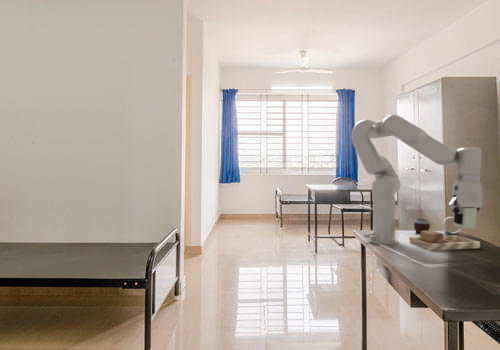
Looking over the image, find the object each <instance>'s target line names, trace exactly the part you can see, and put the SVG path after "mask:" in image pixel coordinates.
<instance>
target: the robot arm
mask: <svg viewBox="0 0 500 350" xmlns="http://www.w3.org/2000/svg"><path fill="white" fill-rule="evenodd" d="M350 136H351V142H352V145H353V147H354V149H355V152H356V153H357V156H358V158H359V160H360V162H361V163H362V166H363V168H364V171H365V172H366V173H368V175H370V176H371V175H372V176H374V177H375V179H374V180H373V182H372V185H371V191H372V203H373V204H372V231H370V232H369V233H363V234H362V237H363V238H364V239H367V238H368V240H369V242H371V243H373V244H376V245H377V244H378V245H383V246H384V244H387V245H388V244H390V245H391V244H398V243H399V240H398V239H397V238H395V237H396V236H395V235H396V232H395V231H396V199H395V194H396V193H398V192H399V190H401V181H400V178H399V177H398V175H397V173H396V171H395V169H394V167H393V166H392V163H391V162H390V161H389V159H388V158H387V157H385V156H382V155H380V154H379V152H378V151H377V148H376V146H375V144H374V143H373V142H372V140H371V139H379V138H384V137H392V136H393V137H394V138H396V139H398V140H399V141H401V142H403V143H404V144H405V145H407V146H409V147H410V148H411V149H413V150H415V151H417V152H418V153H419V154H421V155H422V156H424V157H426V158H427V159H429V160H431V161H432V162H434V163H435V164H438V165H440V166H454V165H456V171H455V173H456V174H455V175H454V179H455V181H454V183H453V186H452V192H451V199H450V202H449V203H448V204H447V206H448V207H449V208H450V209H451V210H452V213H453V217H454V218H453V222H454V223H457V224H462V219H463V214H461V213H462V211H463V207H472V208H477V213H478V212H479V211H480V209H482V208H483V207H484V205H483V199H484V198H483V197H484V196H483V195H484V194H483V187H482V182H480V181H481V179H480V178H481V167H482V166H481V165H482V149H481V148H480V147H474V146H473V147H471V146H470V147H468V146H467V147H466V146H465V147H460V148H456V147H449V146H447V145H445V144H444V143H442V142H441V141H439V140H437V139H435V138H434V137H433V136H431V135H429V134H428V133H427V132H426V131H425V130H424V129H422V128H420V127H419V126H417V125H415V124H413V123H412V122H410V121H408V120H407V119H405V118H403V117H401V115H397V114H389V115H387V116H386V117H385V118H384V119H383V120H378V121H377V120H376V121H374V120H372V119H362V120H359V121H357V122H356V124H355V125H354V126H353V128H352V131H351V135H350ZM458 208H459V210H458ZM454 213H455V215H454Z"/></svg>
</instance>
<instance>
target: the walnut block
mask: <svg viewBox="0 0 500 350" xmlns="http://www.w3.org/2000/svg"><path fill="white" fill-rule="evenodd" d="M444 234H445V233H443V232H439V231H436V230H429V231H421V234H420V237H421V241H423V242H426V243H429V244H434V243H443V240H444V236H445V235H444Z"/></svg>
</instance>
